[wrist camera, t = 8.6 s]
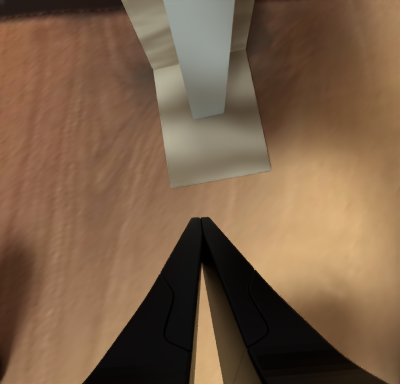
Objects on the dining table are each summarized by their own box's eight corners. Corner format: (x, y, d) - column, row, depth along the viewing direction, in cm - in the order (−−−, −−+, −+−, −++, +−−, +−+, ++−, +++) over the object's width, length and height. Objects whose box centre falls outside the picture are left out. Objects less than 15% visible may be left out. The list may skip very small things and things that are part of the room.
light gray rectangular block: (230, 111, 19) (258, -57, 7) (193, 119, 19) (156, -28, 7) (221, 62, 19) (231, -171, 7) (185, 71, 20) (138, -140, 8)
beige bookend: (269, 171, 18) (334, 129, 8) (171, 188, 19) (124, 168, 9) (242, 40, 20) (269, -126, 10) (153, 61, 21) (95, -72, 11)
